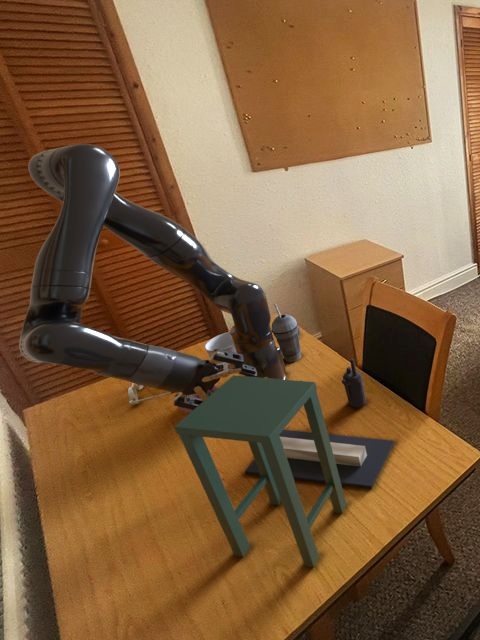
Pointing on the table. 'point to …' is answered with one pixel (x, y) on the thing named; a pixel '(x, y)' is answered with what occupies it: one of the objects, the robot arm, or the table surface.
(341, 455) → the rod
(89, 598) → the table surface
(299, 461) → the mat
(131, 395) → the sunglasses
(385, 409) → the table surface
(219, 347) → the teacup
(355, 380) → the two-way radio
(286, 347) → the beverage cup
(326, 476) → the stand
